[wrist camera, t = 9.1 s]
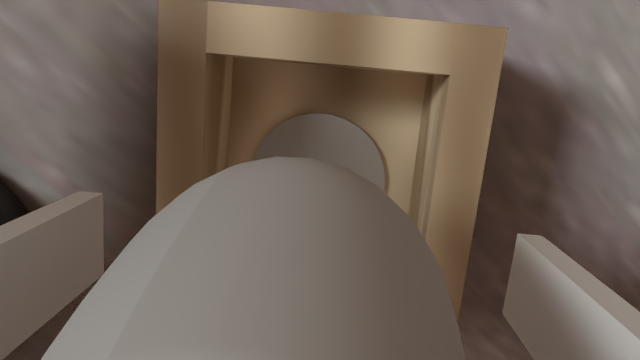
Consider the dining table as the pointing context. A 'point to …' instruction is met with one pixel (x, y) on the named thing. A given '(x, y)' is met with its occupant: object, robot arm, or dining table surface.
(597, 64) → the dining table surface
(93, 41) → the dining table surface
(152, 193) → the dining table surface
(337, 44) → the tan wooden open box
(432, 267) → the wineglass
